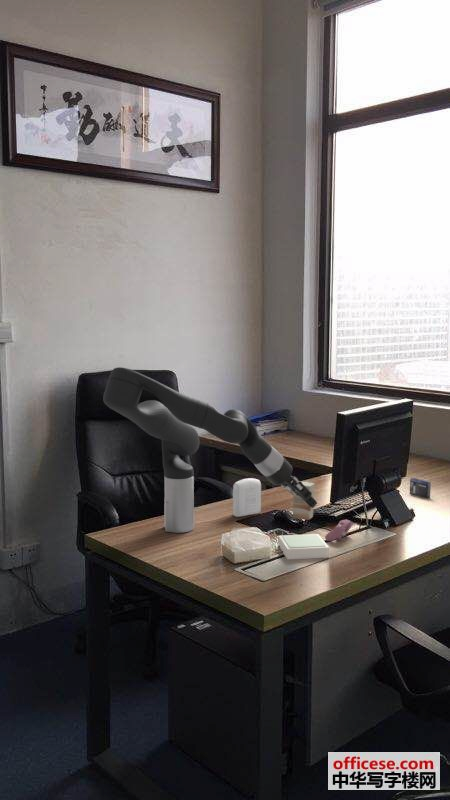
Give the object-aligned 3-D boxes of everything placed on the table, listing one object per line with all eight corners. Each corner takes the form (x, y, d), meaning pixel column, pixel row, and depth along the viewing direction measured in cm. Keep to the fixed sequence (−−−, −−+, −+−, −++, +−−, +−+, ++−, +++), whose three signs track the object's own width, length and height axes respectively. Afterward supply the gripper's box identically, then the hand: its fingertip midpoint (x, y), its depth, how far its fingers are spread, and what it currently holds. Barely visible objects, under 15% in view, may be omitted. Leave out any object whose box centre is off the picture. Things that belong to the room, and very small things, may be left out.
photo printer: (255, 510, 252) (255, 475, 250) (262, 513, 248) (263, 478, 246) (230, 515, 246) (230, 479, 244) (238, 518, 242) (238, 482, 241)
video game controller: (335, 548, 218) (345, 529, 215) (323, 539, 219) (333, 520, 217) (347, 539, 226) (357, 521, 224) (335, 530, 228) (345, 512, 225)
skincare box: (292, 518, 207) (292, 483, 206) (296, 514, 211) (297, 480, 210) (309, 520, 205) (310, 485, 204) (314, 516, 209) (314, 482, 208)
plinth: (287, 559, 203) (287, 548, 203) (278, 545, 215) (278, 535, 215) (329, 557, 205) (329, 546, 205) (317, 543, 217) (318, 533, 216)
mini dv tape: (409, 493, 274) (410, 478, 273) (412, 493, 275) (412, 477, 274) (427, 498, 267) (428, 482, 266) (430, 497, 268) (430, 481, 267)
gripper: (252, 469, 208) (288, 505, 214) (275, 480, 195) (312, 519, 201) (269, 450, 210) (304, 486, 216) (293, 460, 196) (329, 498, 203)
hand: (308, 502), depth 208 cm, fingers closed on skincare box, 6 cm apart
